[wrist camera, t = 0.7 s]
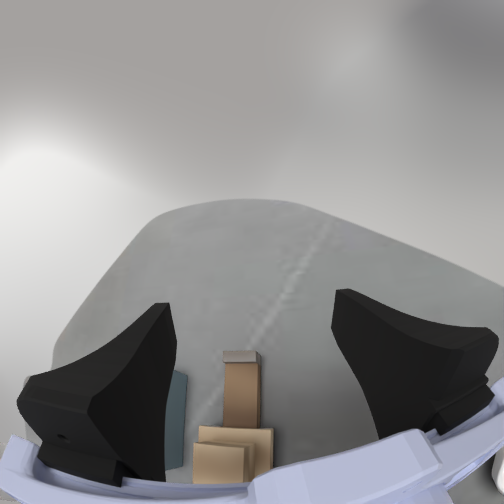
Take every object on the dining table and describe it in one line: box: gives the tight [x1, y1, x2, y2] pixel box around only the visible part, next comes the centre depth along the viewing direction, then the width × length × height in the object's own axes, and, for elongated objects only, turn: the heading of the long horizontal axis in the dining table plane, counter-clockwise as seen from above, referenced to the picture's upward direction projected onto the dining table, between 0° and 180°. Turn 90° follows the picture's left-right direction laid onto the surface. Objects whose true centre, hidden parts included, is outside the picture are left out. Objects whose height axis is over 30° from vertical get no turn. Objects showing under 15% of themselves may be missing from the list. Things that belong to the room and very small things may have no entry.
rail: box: [223, 351, 261, 429], centre depth 20 cm, size 14×3×2 cm, turn 179°
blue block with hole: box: [164, 370, 187, 471], centre depth 21 cm, size 10×6×4 cm, turn 179°
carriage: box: [193, 425, 273, 484], centre depth 16 cm, size 6×6×6 cm
